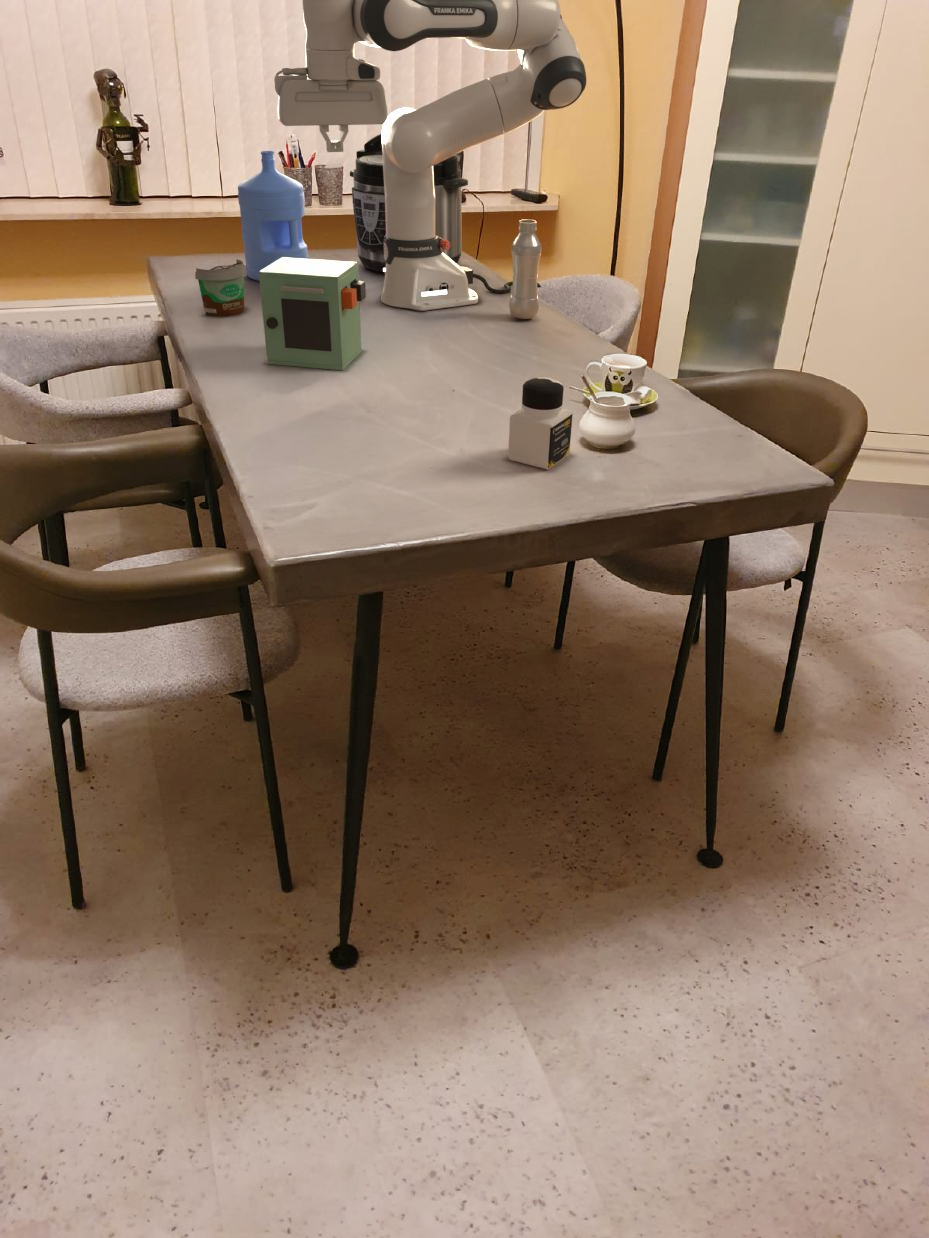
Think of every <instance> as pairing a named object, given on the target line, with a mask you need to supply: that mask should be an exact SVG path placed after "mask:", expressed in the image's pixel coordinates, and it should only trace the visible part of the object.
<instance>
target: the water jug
mask: <svg viewBox="0 0 929 1238" xmlns="http://www.w3.org/2000/svg"><path fill="white" fill-rule="evenodd" d="M260 154H261V161H260V162H261V167H262V168H261V171H259V172H258V173H256V174H254V175H252V176H251V177H249V178H247V179H246V180H244V181H242V182H240V183H239V184H238V186H237V199H238V205H239V213H240V214H239V215H240V222H241V237H242V242H243V251H244V261H245V264H244V265H245V268H246V272H247V273H246V276H247V277H248V278H249V279H252V280H253V281H257V282H259V271H260V270H262V269H264V268H265V267H267V266H268V265H270V264H272V263H273V262H275V261H277V260H278V259H280V258H282V257H290V258H305V259H309V253H308V252H309V251H308V244H306V243H305V241H304V237H303V225H302V218H304V216H305V215H306V209H305V208H306V207H305V203H306V201H305V199H306V198H305V192H304V186H303V184H302V183H301V182H299V181H297V180H295V179H294V178H291V177H289V176H288V175H285V174H284V173H282V172H280V171H278V170H277V169H276V158H275V151H273V150H262V151H260Z"/></svg>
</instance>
